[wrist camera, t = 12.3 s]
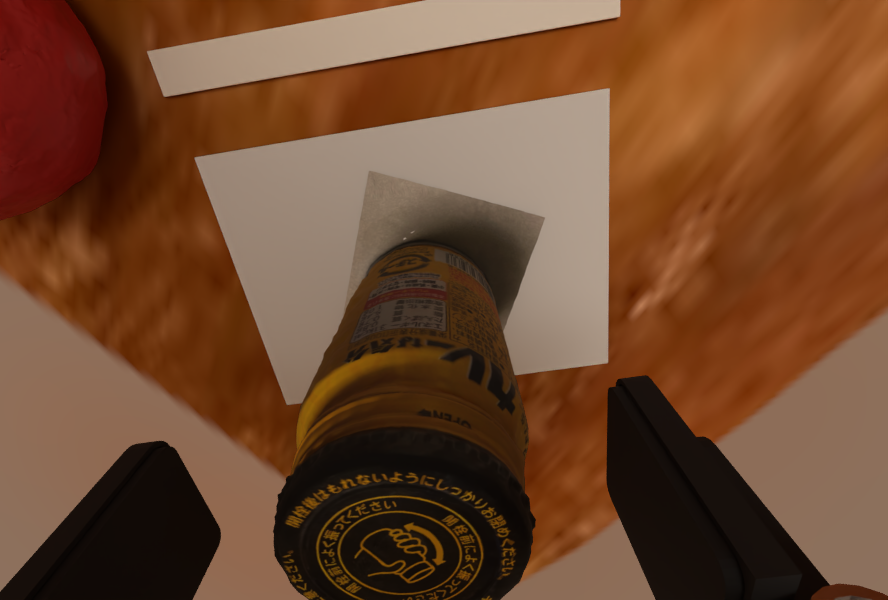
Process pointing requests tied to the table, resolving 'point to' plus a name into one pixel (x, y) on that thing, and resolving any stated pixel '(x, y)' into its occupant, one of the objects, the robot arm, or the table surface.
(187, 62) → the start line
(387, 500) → the condiment
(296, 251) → the mat
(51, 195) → the pomegranate
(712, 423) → the table surface
